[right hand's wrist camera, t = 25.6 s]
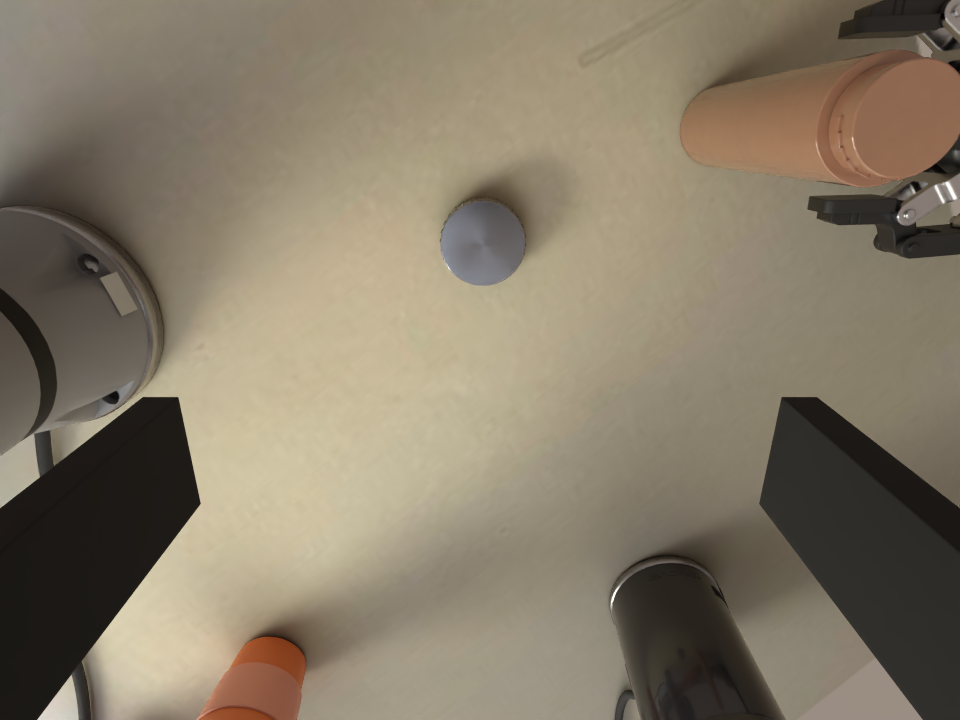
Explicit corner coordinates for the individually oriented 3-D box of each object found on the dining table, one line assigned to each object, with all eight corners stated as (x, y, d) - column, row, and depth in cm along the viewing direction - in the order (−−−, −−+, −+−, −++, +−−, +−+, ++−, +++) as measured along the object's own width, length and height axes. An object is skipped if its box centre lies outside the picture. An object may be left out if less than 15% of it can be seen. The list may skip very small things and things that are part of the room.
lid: (522, 194, 38) (524, 196, 36) (525, 278, 40) (527, 284, 38) (437, 199, 38) (435, 202, 37) (445, 283, 40) (443, 289, 39)
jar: (688, 177, 38) (847, 209, 21) (672, 101, 36) (832, 73, 20) (761, 151, 37) (983, 164, 21) (749, 73, 35) (980, 20, 19)
